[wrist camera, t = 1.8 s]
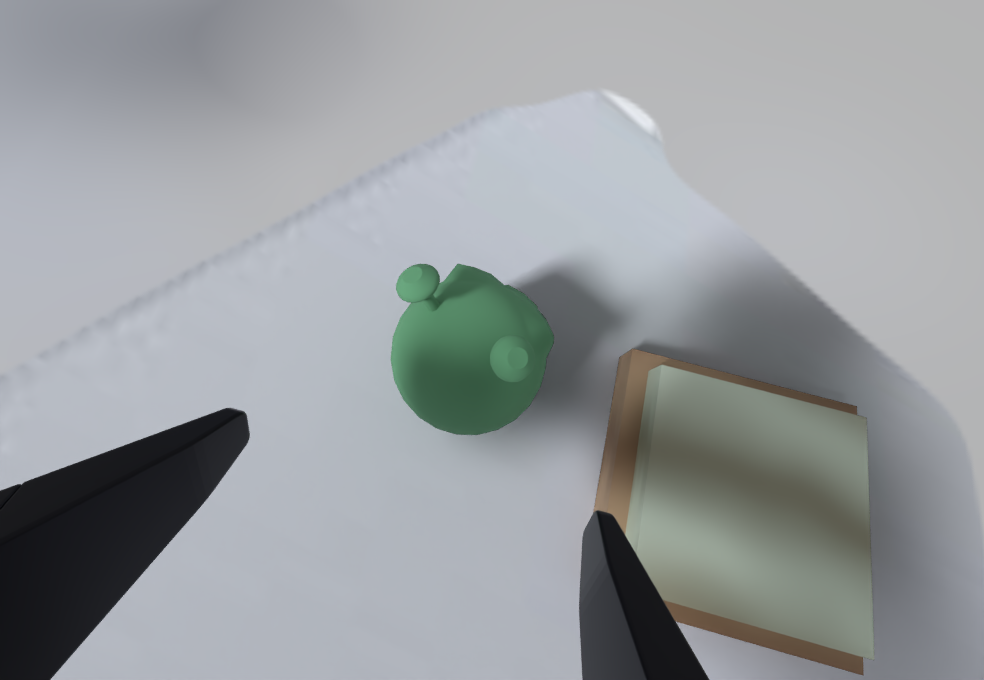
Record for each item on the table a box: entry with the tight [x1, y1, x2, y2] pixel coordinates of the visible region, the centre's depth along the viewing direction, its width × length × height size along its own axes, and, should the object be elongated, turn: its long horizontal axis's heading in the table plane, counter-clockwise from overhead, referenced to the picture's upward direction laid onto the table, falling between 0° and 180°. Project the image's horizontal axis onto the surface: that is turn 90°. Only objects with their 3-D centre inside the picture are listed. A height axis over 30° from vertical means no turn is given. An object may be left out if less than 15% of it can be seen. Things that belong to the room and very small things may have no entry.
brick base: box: [593, 349, 874, 676], centre depth 18 cm, size 12×12×4 cm
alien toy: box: [391, 264, 554, 435], centre depth 17 cm, size 7×8×10 cm
